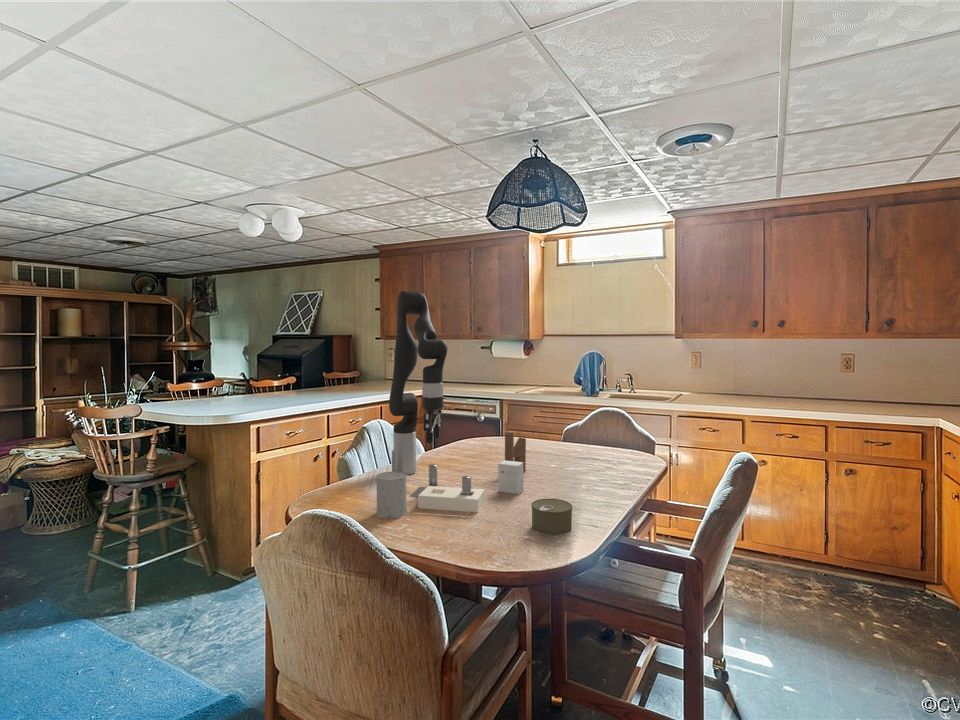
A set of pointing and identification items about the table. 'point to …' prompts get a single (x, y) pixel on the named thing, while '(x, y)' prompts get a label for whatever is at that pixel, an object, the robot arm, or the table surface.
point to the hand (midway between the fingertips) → (433, 440)
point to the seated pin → (466, 485)
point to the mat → (417, 492)
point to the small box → (510, 477)
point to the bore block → (451, 499)
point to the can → (551, 516)
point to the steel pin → (432, 475)
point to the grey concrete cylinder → (391, 495)
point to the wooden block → (515, 449)
